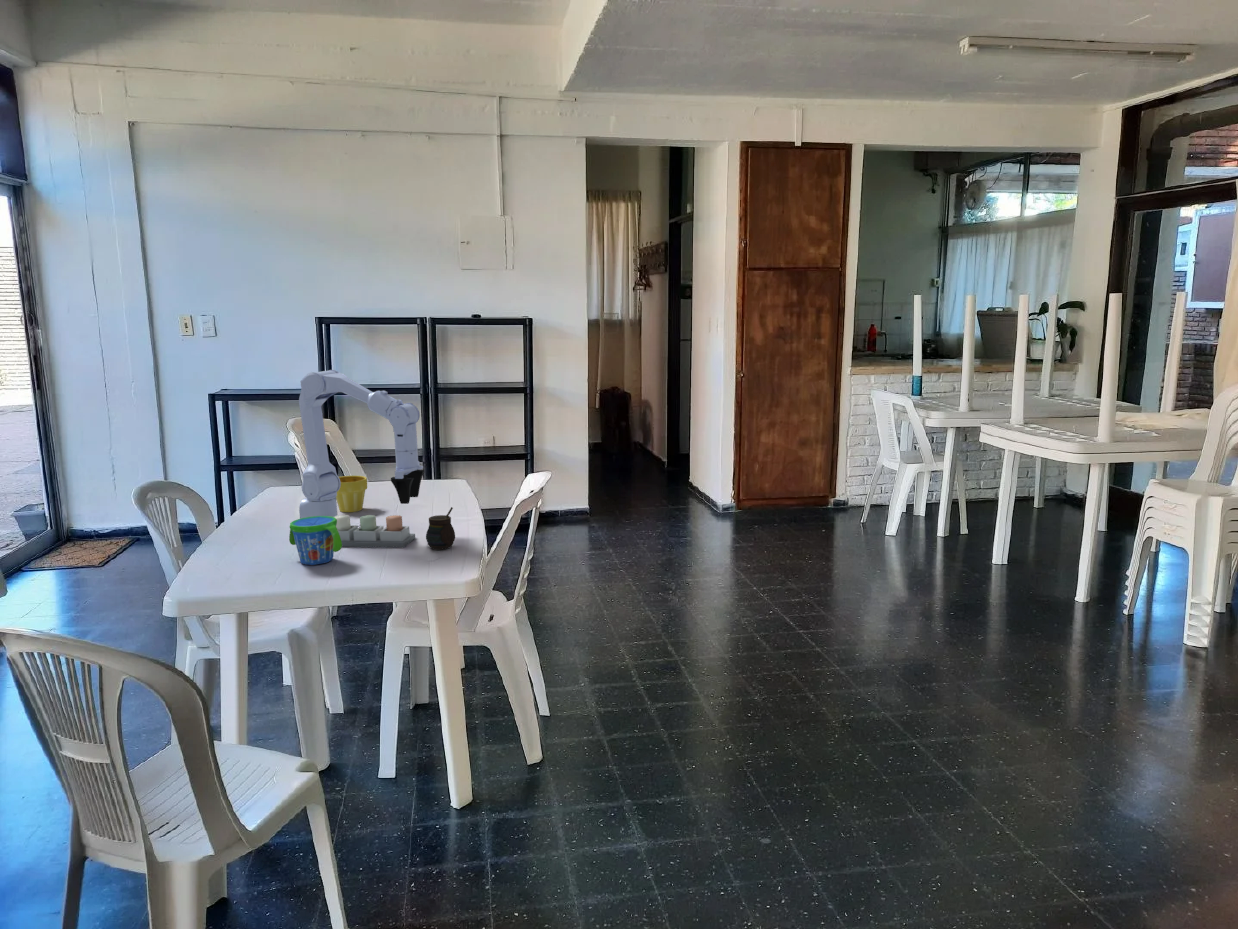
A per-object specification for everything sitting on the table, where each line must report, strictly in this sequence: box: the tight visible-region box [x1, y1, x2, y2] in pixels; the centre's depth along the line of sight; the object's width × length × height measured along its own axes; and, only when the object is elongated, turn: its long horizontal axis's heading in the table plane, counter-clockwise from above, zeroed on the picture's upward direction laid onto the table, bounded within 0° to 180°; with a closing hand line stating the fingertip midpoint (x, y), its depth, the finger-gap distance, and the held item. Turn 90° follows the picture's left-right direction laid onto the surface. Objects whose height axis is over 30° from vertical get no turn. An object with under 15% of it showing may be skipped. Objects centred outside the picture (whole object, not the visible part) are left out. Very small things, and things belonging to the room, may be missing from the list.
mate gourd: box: [425, 506, 456, 551], centre depth 211 cm, size 7×8×10 cm
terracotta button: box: [385, 514, 403, 531], centre depth 216 cm, size 4×4×4 cm
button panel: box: [338, 525, 416, 549], centre depth 218 cm, size 22×9×4 cm, turn 85°
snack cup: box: [288, 516, 343, 566], centre depth 201 cm, size 16×10×10 cm
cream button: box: [334, 514, 352, 531], centre depth 218 cm, size 4×4×4 cm
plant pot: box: [336, 475, 368, 513], centre depth 253 cm, size 10×10×10 cm
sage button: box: [359, 514, 377, 531], centre depth 217 cm, size 4×4×4 cm
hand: (409, 500), depth 222 cm, fingers open, 7 cm apart
